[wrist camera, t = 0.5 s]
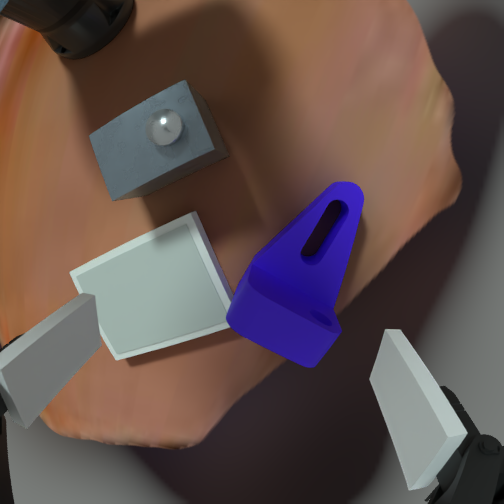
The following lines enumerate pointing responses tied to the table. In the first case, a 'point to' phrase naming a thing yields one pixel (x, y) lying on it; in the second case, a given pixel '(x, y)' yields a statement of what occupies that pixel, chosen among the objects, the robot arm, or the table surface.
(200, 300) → the tray
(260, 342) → the bracket
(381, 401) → the robot arm
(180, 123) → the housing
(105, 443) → the table surface
